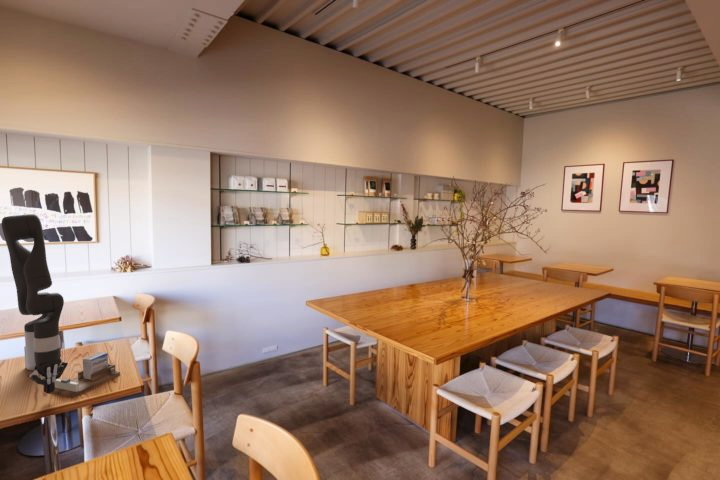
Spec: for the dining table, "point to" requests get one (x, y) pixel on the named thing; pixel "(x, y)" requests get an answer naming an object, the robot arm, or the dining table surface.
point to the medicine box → (94, 364)
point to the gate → (67, 384)
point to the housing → (89, 381)
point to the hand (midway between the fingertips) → (49, 392)
